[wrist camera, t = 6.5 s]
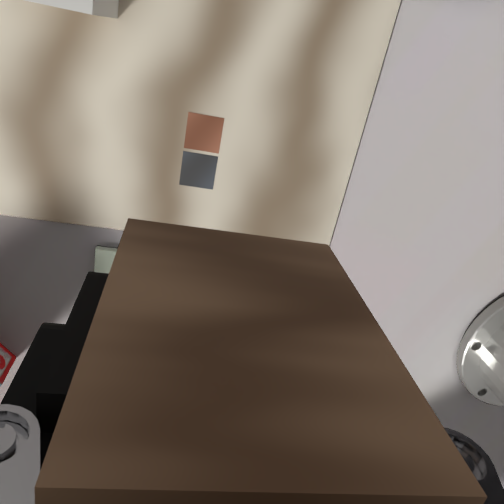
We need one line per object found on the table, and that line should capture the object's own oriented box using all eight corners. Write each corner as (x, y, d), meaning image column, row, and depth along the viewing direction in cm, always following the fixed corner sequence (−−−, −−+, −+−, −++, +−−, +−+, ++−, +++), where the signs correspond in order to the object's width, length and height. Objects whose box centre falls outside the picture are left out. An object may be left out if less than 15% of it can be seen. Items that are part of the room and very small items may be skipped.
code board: (420, -72, 24) (422, -72, 24) (325, 254, 33) (326, 255, 33) (-20, -197, 20) (-22, -199, 20) (-1, 213, 29) (-2, 214, 28)
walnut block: (327, 244, 12) (487, 496, 5) (284, 392, 14) (363, 700, 7) (128, 218, 11) (34, 487, 4) (114, 381, 13) (37, 722, 6)
